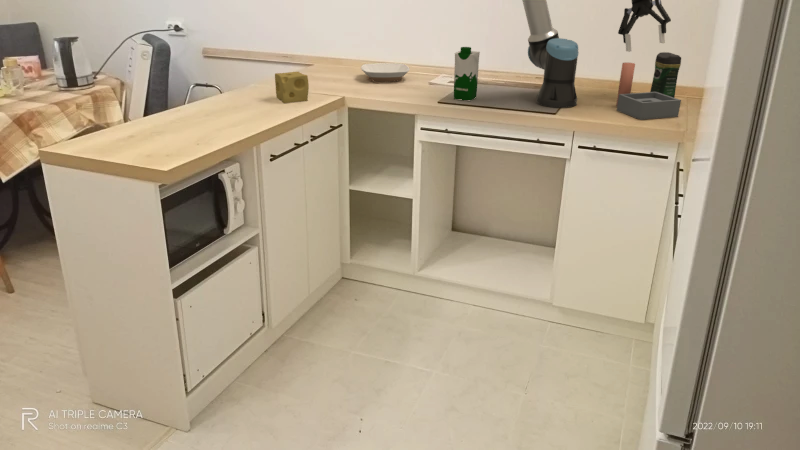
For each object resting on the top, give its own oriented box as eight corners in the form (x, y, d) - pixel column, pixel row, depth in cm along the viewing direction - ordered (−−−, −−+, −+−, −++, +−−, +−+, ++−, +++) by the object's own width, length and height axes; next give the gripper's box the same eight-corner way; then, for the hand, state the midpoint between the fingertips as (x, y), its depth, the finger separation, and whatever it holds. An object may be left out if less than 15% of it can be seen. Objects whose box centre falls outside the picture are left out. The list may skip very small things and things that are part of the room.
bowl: (359, 74, 294) (359, 63, 292) (406, 74, 297) (406, 62, 294) (362, 84, 275) (362, 72, 273) (412, 83, 277) (412, 71, 275)
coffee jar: (677, 103, 247) (686, 54, 239) (657, 104, 246) (666, 55, 238) (664, 98, 255) (672, 50, 248) (645, 98, 254) (653, 51, 247)
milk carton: (450, 99, 250) (452, 47, 242) (458, 95, 257) (461, 44, 249) (471, 102, 247) (474, 49, 238) (479, 97, 254) (482, 46, 246)
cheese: (283, 104, 242) (281, 77, 238) (275, 98, 251) (273, 72, 247) (309, 101, 246) (308, 75, 242) (300, 95, 255) (298, 70, 251)
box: (640, 119, 224) (643, 103, 222) (616, 110, 236) (618, 94, 234) (677, 116, 229) (681, 100, 226) (652, 107, 241) (655, 91, 238)
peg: (620, 107, 240) (627, 64, 233) (613, 105, 244) (619, 62, 237) (630, 107, 241) (637, 64, 234) (623, 104, 245) (630, 62, 238)
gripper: (677, -18, 237) (681, 40, 238) (616, 2, 256) (620, 55, 256) (668, -21, 232) (672, 37, 233) (606, -1, 251) (610, 53, 251)
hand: (645, 47), depth 244 cm, fingers open, 13 cm apart
